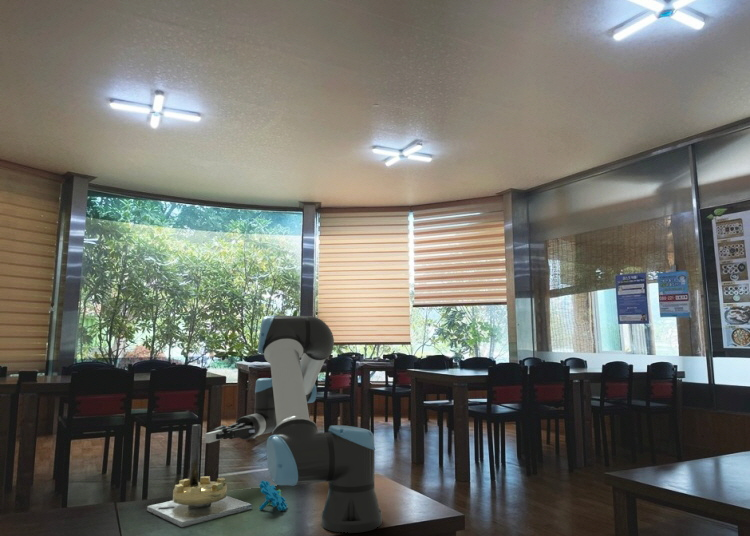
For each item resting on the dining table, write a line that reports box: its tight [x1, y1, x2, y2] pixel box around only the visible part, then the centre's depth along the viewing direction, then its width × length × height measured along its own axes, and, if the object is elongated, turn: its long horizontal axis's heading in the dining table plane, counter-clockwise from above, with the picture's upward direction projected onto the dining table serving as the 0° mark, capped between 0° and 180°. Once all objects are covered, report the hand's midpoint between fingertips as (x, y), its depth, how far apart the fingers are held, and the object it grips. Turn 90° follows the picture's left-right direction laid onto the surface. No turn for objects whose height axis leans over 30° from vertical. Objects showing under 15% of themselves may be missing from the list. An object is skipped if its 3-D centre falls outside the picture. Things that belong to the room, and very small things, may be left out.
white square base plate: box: [146, 495, 253, 528], centre depth 138 cm, size 20×20×3 cm
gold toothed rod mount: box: [172, 424, 228, 505], centre depth 140 cm, size 14×14×18 cm
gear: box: [258, 479, 288, 512], centre depth 139 cm, size 11×6×10 cm
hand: (207, 438), depth 151 cm, fingers closed
